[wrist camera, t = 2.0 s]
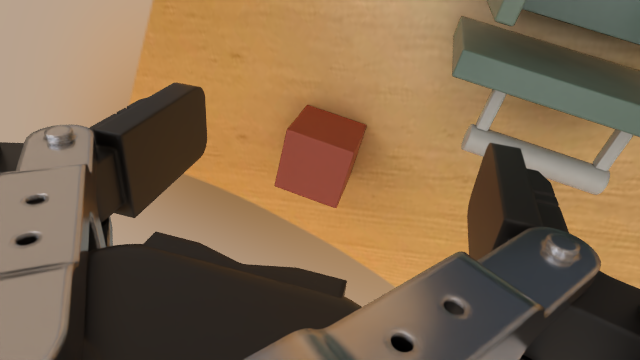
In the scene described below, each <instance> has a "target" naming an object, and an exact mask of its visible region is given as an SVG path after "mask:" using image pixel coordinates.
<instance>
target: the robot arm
mask: <svg viewBox="0 0 640 360" xmlns="http://www.w3.org/2000/svg"><path fill="white" fill-rule="evenodd" d="M206 143H207V127H206V107H205V95H204V91H203V89H202V88H201V87H197V86H192V85H187V84H181V83H173V84H171V85H169V86H168V87H166V88H164V89H162V90H160V91H159V92H157V93H155V94H153V95H152V96H150V97H148V98H144V99H141V100H138V101H136V102H134V103H133V104H131V105H129V106H127V109H126V108H124V109H122V110H120V111H118V112H117V114H113V115H111V116H110V117H108V118H106V119H104V120H102V121H101V122H99V123H97V124H95V125H93V126H92V127H90V128H87V127H84V126H79V125H57V126H51V127H47V128H43V129H40V130H38V131H36V132H33V133H32V134H30V135H29V136H28V137H27V138H26V140H25V142H24V143H0V360H640V289H638V288H636V287H633V286H631V285H628V284H626V283H624V282H621V281H619V280H616V279H614V278H612V277H610V276H608V275H606V274H604V273H602V272H601V271H599V269H600V267H601V261H600V259H599V256H598V255H597V253H596V252H595V251H594V250H593V249H592V248H591V247H590V246H589V245H588V244H587V243H585V242H584V241H582V240H581V239H579V238H577V237H576V236H574V235H572V234H569V231H568V229H567V226H566V223H565V221H564V218H563V215H562V212H561V210H560V207H558V205H559V204H558V202H557V199H556V197H555V194H554V191H553V188H552V185H551V183H550V182H549V181H548V180H547V179H546V178H545V177H544V176H543V175H542V174H541V173H540V172H539V171H537V170H532V169H527V168H526V165H525V161H524V158H523V155H522V151H521V149H520V148H517V147H512V146H506V145H501V144H496V143H489V145H488V146H487V149H486V151H485V154H484V157H483V160H482V163H481V166H480V169H479V172H478V175H477V178H476V182H475V185H474V188H473V191H472V194H471V197H470V201H469V206H468V215H467V218H468V242H469V255H468V254H466V253H465V252H457V253H455V254H453V255H451V256H449V257H448V258H446V259H444V260H443V261H441V262H439V263H437V264H436V265H434V266H432V267H431V268H429V269H427V270H425V271H424V272H422V273H420V274H418V275H417V276H415V277H413V278H412V279H410V280H408V281H406V282H405V283H403V284H401V285H400V286H398V287H396V288H394V289H393V290H391V291H389V292H388V293H386V294H384V295H382V296H381V297H379V298H377V299H375V300H374V301H372V302H370V303H369V304H367V305H365V306H363V307H361V306H359V305H358V304H356V303H355V302H353V301H352V300H350V299H348V298H346V297H344V295H345V289H346V283H347V281H346V280H342V279H338V278H335V277H330V276H326V275H323V274H319V273H315V272H311V271H307V270H303V269H300V268H292V267H276V266H260V265H246V264H241V263H239V262H236V261H234V260H232V259H230V258H229V257H227V256H225V255H223V254H221V253H218V252H217V251H215V250H213V249H211V248H209V247H207V246H205V245H203V244H201V243H198V242H194V241H190V240H186V239H183V238H178V237H175V236H171V235H167V234H163V233H159V232H155V233H154V234H153V235H152V236H151V237H150V238H149V239H148V240H147V241H146V242H145V243H144V244H125V245H116V246H113V243H112V242H113V241H112V224H111V219H110V215H112V214H113V213H116V214H120V215H124V216H128V217H133V218H135V217H136V216H137V215H138V214H140V213H141V212H142V211H143V210H144V209H145V208H146V207H147V206H148V205H149V204H150V203H152V202H153V201H154V200H155V199H156V198H157V197H158V196H159V195H160V194H161V193H162V192H163V191H165V190H166V189H167V188H168V187H169V186H170V185H171V184H172V183H173V182H174V181H175V180H177V179H178V178H179V177H180V176H181V175H182V174H183V173H184V172H185V171H186V170H187V169H188V168H190V167H191V166H192V165H193V164H194V163H195V162H196V161H197V160H198V159H199V158H200V157H201V156H202V155H203V153H204V151H205V148H206Z"/></svg>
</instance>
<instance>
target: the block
mask: <svg viewBox="0 0 640 360" xmlns="http://www.w3.org/2000/svg"><path fill="white" fill-rule="evenodd" d="M365 129H366V125H365V124H362V123H359V122H356V121H353V120H350V119H347V118H344V117H341V116H338V115H336V114H333V113H330V112H327V111H324V110H321V109H318V108H315V107H312V106H309V105H307V106H306V107H305V108H304V110H303V111H302V112H301V113H300V114H299V116H298V117H297V118H296V119H295V120H294V122H293V123H292V124H291V125H290V126H289V128H288V129H287V131H286V136H285V140H284V145H283V150H282V154H281V159H280V163H279V168H278V172H277V177H276V181H275V186H276V187H278V188H281V189H284V190H287V191H289V192H292V193H295V194H298V195H300V196H303V197H306V198H309V199H311V200H314V201H317V202H320V203H322V204H325V205H328V206H331V207H333V208H337V205H338V203H339V201H340V198H341V196H342V194H343V191H344V189H345V187H346V184H347V182H348V180H349V177H350V174H351V171H352V168H353V165H354V162H355V159H356V156H357V153H358V150H359V147H360V144H361V141H362V138H363V135H364V132H365Z"/></svg>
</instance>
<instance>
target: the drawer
mask: <svg viewBox="0 0 640 360" xmlns="http://www.w3.org/2000/svg"><path fill="white" fill-rule="evenodd" d="M487 2H488V5H489V7H490V10H491V12H492V15H493V17H494V20H495V21H496V22H499V23H502V24H505V25H508V26H514V25H515V23H516V21H517V18H518V16H519V14H520V12H521V10H522V9H523V10H527V11H530V12H533V13H536V14H540V15H543V16H546V17H550V18H553V19H556V20H559V21H563V22H566V23H569V24H573V25H576V26H579V27H583V28H586V29H589V30H592V31H596V32H599V33H602V34H606V35H609V36H612V37H615V38H619V39H622V40H625V41H629V42H632V43H635V44H638V45H640V0H487ZM452 76H453V77H456V78H459V79H462V80H465V81H468V82H471V83H474V84H478V85H481V86H484V87H487V88H490V89H493V90H492V92H491V94H490V96H489V98H488V100H487V102H486V104H485V106H484V108H483V110H482V112H481V114H480V116H479V118H478V120H477V123H476V125H474V124H471V125H470V126H469V127H468V129H467V131H466V133H465V135H464V138H463V141H462V145H461V149H462V150H465V151H468V152H471V153H474V154H477V155H480V156H482V157H484V154H485V151H486V149H487V146H488V145H489V143H496V144H501V145H506V146H512V147H517V148H520V149H521V151H522V155H523V158H524V161H525V165H526V168H527V169H532V170H537V171H539V172H540V173H541V174H542V175H543V176H544V177H545V178H547V179H550V180H553V181H556V182H559V183H562V184H565V185H568V186H571V187H574V188H577V189H580V190H582V191H585V192H588V193H591V194H594V195H597V194H600V193H601V192H602V191H603V190H604V189H605V188H606V186H607V184H608V182H609V178H610V172H609V168H610V167H611V166H612V164H613V163H614V161H615V160H616V159H617V157H618V156H619V154H620V153H621V152H622V150H623V149H624V148H625V146H626V145H627V143H628V142H629V141H630V139H631V138H632V136H633V135H635V136H638V137H640V71H638V70H635V69H632V68H628V67H625V66H622V65H619V64H615V63H612V62H609V61H606V60H602V59H599V58H596V57H593V56H590V55H586V54H583V53H580V52H577V51H573V50H570V49H567V48H564V47H560V46H557V45H554V44H551V43H548V42H544V41H541V40H538V39H535V38H531V37H528V36H525V35H522V34H518V33H515V32H512V31H509V30H506V29H502V28H499V27H496V26H493V25H489V24H486V23H483V22H480V21H476V20H473V19H470V18H467V17H464V16H462V17H461V18H460V21H459V23H458V26H457V28H456V31H455V33H454V36H453V66H452ZM506 94H508V95H512V96H515V97H518V98H521V99H524V100H527V101H530V102H533V103H536V104H539V105H542V106H545V107H549V108H552V109H555V110H558V111H561V112H564V113H567V114H570V115H573V116H576V117H579V118H583V119H586V120H589V121H592V122H595V123H598V124H601V125H604V126H607V127H610V128H613V129H615V131H614V132H613V134H612V135H611V136H610V138H609V139H608V141H607V142H606V144H605V145H604V147H603V148H602V149H601V151H600V152H599V154H598V155H597V157H596V158H595V160H594V161H593V164H591V163H588V162H585V161H582V160H579V159H576V158H573V157H570V156H567V155H564V154H561V153H558V152H555V151H552V150H549V149H546V148H543V147H540V146H537V145H534V144H531V143H528V142H525V141H522V140H519V139H516V138H513V137H510V136H507V135H504V134H501V133H498V132H495V131H492V130H489V128H490V126H491V124H492V122H493V120H494V118H495V116H496V114H497V112H498V110H499V108H500V106H501V104H502V102H503V100H504V98H505V96H506Z"/></svg>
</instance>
